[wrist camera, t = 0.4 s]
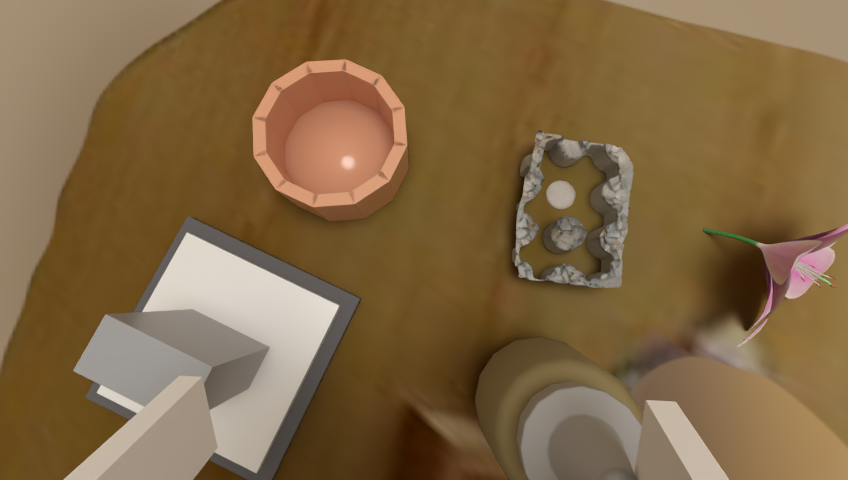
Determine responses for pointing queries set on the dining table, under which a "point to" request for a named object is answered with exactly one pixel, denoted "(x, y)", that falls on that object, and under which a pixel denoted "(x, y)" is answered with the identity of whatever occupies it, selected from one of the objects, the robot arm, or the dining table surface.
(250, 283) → the cover sheet
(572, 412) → the squeeze bottle
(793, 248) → the lily
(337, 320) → the rubber mat
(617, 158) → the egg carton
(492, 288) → the dining table surface
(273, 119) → the bowl
